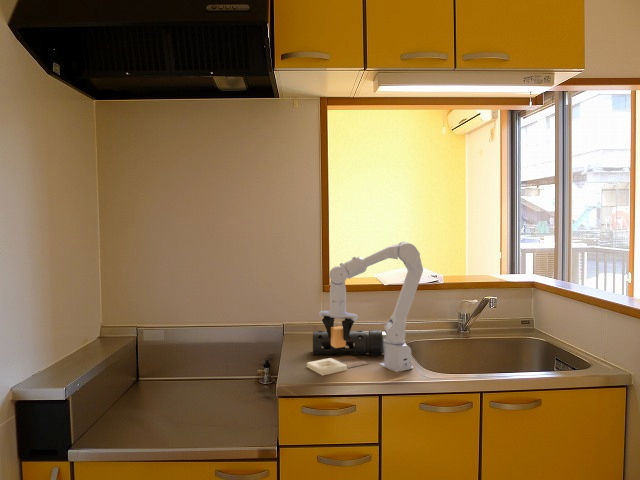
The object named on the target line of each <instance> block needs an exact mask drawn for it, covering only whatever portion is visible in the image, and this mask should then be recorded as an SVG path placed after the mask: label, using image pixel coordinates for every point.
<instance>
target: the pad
mask: <svg viewBox="0 0 640 480" xmlns="http://www.w3.org/2000/svg"><path fill="white" fill-rule="evenodd" d="M331 358H332V359H335V360H337V361H339V362H341V363H343V364H345V365H347V369H354V368H357V367H363V366H366V365H367V366H368V365H370V362H367V361H366V360H363V359H360V358H359V357H356V356H354V355H340V356H338V357H331Z"/></svg>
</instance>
